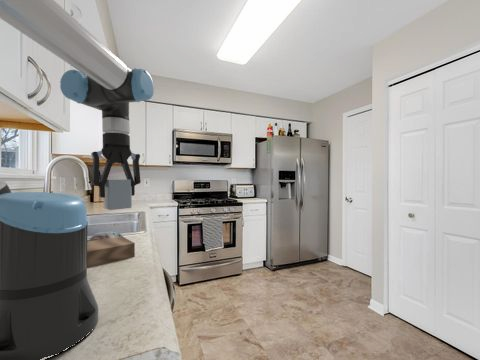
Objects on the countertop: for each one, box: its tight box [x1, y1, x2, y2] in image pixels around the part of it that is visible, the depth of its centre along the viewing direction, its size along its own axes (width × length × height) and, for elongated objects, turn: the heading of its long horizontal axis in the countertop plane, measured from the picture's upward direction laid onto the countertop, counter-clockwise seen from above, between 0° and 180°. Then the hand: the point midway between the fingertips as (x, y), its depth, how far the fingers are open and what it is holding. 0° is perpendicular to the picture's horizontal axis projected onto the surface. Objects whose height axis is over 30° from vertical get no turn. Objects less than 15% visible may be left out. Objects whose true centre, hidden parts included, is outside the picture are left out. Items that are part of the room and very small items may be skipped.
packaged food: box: [87, 230, 123, 242], centre depth 95 cm, size 9×12×5 cm
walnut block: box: [87, 235, 136, 268], centre depth 78 cm, size 14×14×5 cm
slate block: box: [105, 179, 132, 211], centre depth 72 cm, size 6×6×9 cm
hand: (117, 206), depth 72 cm, fingers closed on slate block, 6 cm apart
